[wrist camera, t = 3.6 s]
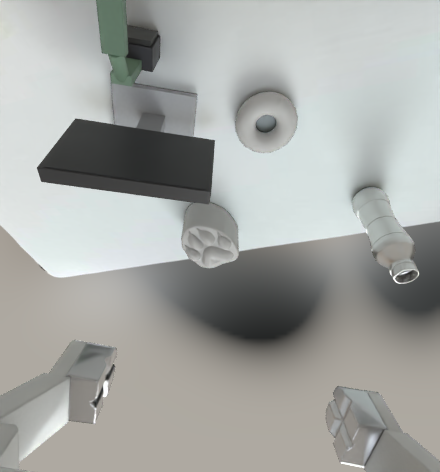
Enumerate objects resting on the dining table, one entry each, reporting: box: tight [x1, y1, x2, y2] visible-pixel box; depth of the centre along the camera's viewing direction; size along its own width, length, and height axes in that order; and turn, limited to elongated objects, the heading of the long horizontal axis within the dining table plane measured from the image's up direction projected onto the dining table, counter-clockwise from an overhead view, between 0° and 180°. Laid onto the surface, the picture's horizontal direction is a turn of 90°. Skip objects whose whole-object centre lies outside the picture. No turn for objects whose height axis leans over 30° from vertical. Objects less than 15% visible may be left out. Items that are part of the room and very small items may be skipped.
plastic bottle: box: [352, 187, 419, 283], centre depth 54 cm, size 6×7×20 cm
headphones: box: [96, 0, 160, 87], centre depth 35 cm, size 13×5×14 cm, turn 171°
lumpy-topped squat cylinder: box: [181, 203, 239, 268], centre depth 65 cm, size 10×13×9 cm
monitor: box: [37, 83, 215, 204], centre depth 44 cm, size 10×20×20 cm, turn 81°
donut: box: [235, 91, 298, 153], centre depth 49 cm, size 10×3×10 cm
